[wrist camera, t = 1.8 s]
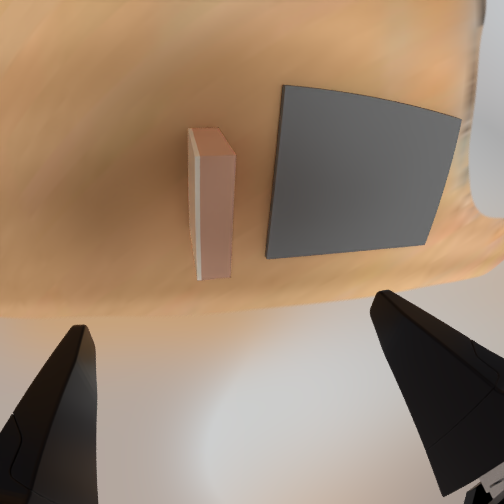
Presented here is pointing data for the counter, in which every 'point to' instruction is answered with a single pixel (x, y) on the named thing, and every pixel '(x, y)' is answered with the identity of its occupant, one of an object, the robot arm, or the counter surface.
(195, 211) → the tile
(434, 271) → the counter surface
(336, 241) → the mat
